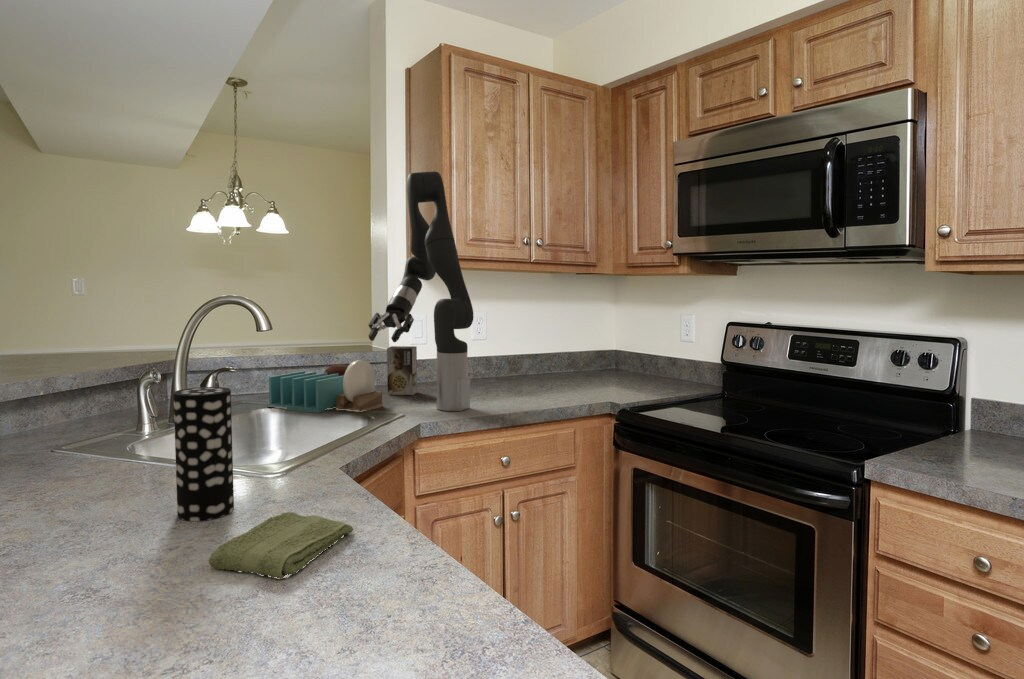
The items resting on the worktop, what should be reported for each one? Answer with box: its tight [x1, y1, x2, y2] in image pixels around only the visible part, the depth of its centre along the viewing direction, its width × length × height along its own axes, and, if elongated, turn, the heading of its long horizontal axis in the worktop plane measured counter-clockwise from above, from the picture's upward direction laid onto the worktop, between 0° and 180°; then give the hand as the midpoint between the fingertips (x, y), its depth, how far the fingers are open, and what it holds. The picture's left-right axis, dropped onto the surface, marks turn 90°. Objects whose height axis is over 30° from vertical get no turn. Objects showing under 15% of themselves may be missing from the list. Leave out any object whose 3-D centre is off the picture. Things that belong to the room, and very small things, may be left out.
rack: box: [266, 370, 344, 414], centre depth 196 cm, size 19×16×9 cm
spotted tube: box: [172, 386, 235, 522], centre depth 104 cm, size 8×8×20 cm
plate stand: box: [335, 390, 384, 411], centre depth 193 cm, size 9×11×4 cm
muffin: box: [323, 364, 349, 376], centre depth 216 cm, size 12×11×10 cm
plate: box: [343, 359, 376, 403], centre depth 192 cm, size 2×13×13 cm, turn 157°
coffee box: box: [386, 345, 418, 396], centre depth 219 cm, size 9×6×16 cm
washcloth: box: [207, 511, 354, 578], centre depth 90 cm, size 13×18×3 cm
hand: (382, 339), depth 202 cm, fingers open, 8 cm apart
